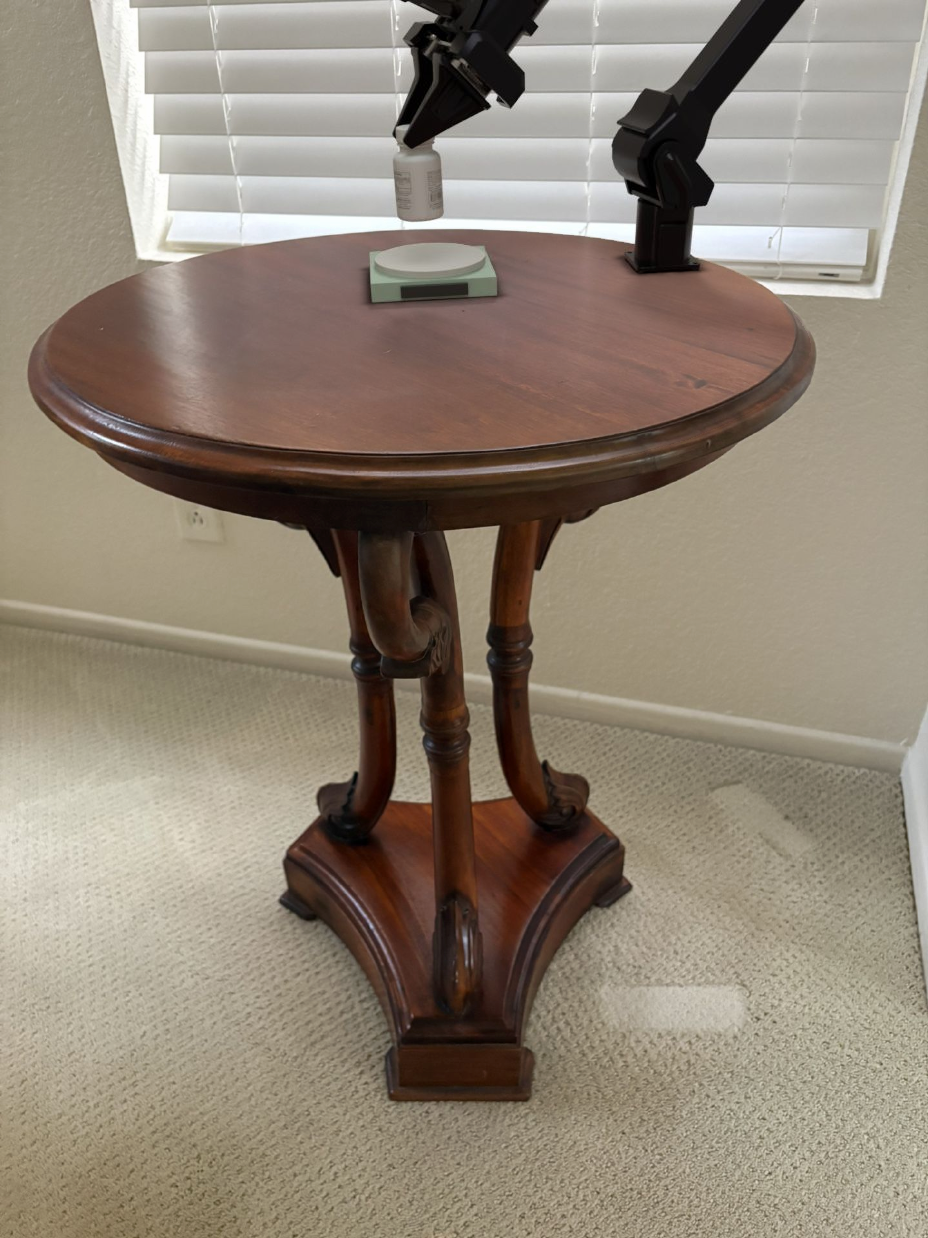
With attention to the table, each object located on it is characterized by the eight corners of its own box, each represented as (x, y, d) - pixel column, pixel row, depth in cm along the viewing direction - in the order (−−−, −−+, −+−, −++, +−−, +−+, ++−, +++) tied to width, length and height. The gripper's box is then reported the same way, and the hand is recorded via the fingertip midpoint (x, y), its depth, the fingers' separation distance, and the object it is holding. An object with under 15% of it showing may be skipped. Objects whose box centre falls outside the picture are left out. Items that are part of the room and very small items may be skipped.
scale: (370, 269, 106) (368, 244, 104) (484, 263, 106) (483, 238, 105) (372, 303, 95) (369, 277, 94) (497, 296, 96) (497, 270, 95)
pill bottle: (442, 210, 96) (437, 120, 92) (445, 220, 93) (440, 128, 88) (396, 213, 96) (389, 123, 92) (398, 224, 92) (390, 131, 88)
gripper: (417, -85, 90) (311, 66, 93) (483, -93, 75) (354, 86, 78) (503, 12, 96) (400, 150, 99) (579, 22, 81) (456, 184, 85)
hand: (401, 141), depth 90 cm, fingers closed on pill bottle, 3 cm apart
